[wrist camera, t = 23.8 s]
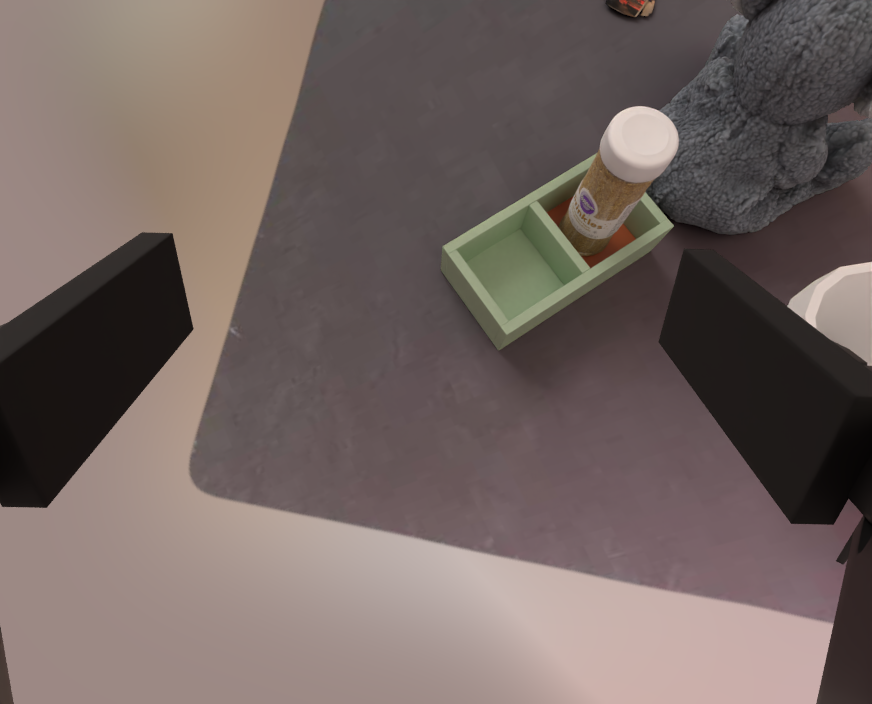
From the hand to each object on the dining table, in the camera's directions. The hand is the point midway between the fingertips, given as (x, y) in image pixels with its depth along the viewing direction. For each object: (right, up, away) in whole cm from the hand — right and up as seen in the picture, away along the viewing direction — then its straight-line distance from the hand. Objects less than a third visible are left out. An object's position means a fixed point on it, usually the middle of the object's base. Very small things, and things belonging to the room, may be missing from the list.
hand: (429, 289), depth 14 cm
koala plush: (+26, +16, +36) cm, 47 cm away
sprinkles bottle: (+13, +8, +33) cm, 36 cm away
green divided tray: (+10, +6, +33) cm, 35 cm away
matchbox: (+20, +34, +40) cm, 56 cm away
